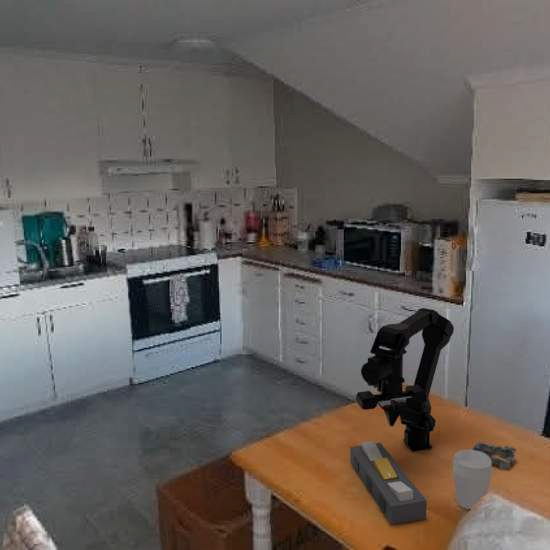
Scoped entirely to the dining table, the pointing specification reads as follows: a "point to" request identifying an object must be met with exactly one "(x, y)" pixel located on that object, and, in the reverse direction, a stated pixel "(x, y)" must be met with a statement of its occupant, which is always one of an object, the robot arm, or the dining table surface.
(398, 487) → the rocker
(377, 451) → the rocker
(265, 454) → the dining table surface
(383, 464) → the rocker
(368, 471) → the rocker switch panel
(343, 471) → the dining table surface
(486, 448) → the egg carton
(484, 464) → the cup
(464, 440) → the dining table surface
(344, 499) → the dining table surface
